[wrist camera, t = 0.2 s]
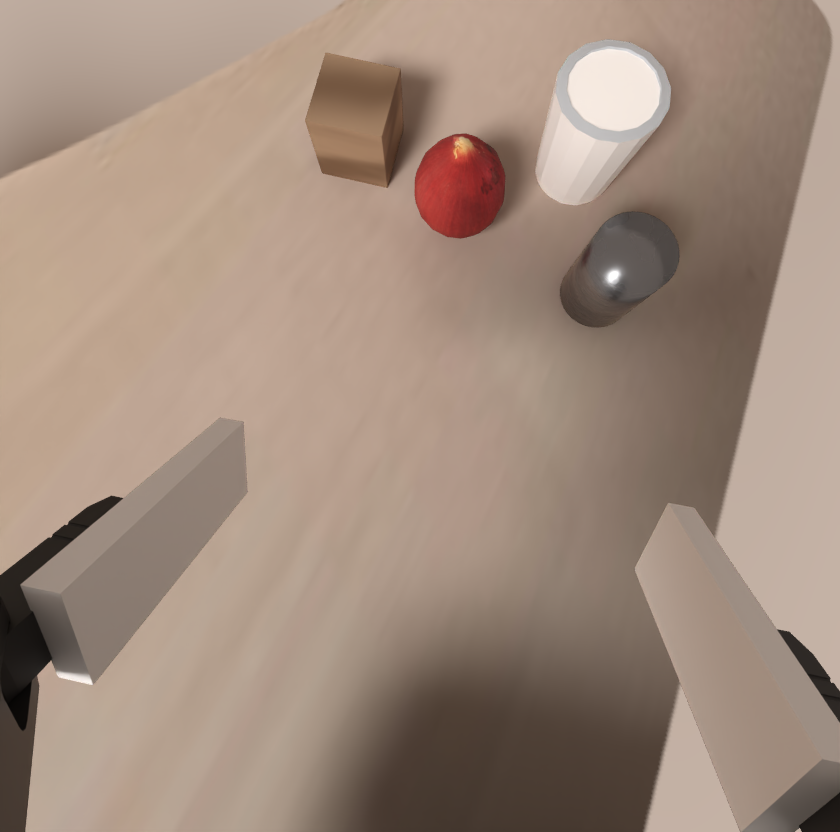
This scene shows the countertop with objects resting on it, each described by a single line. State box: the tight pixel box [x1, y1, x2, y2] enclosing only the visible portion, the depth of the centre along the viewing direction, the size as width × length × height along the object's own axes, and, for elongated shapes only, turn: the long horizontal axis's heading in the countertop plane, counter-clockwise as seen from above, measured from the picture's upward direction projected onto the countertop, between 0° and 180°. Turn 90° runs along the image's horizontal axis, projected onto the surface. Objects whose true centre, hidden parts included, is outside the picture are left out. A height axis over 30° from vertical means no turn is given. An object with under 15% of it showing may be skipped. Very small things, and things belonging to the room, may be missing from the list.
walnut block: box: [305, 53, 403, 188], centre depth 30 cm, size 5×5×5 cm
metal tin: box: [560, 212, 679, 327], centre depth 28 cm, size 5×5×6 cm
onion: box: [415, 134, 505, 238], centre depth 28 cm, size 6×6×8 cm
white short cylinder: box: [535, 39, 671, 205], centre depth 29 cm, size 7×7×7 cm
